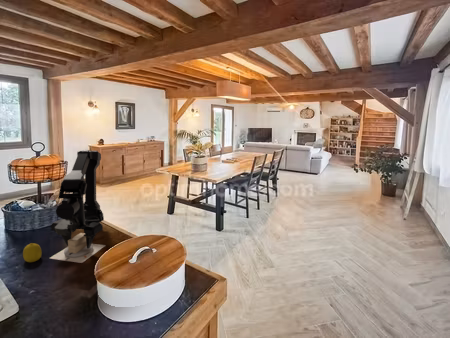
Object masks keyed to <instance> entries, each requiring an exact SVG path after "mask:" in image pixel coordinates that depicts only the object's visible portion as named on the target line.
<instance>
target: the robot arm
mask: <svg viewBox="0 0 450 338" xmlns="http://www.w3.org/2000/svg"><path fill="white" fill-rule="evenodd" d="M76 156H77V157H76V159H75V161H74V164H73V166H72V169H71V171H70V172H69V173H67V174H66V175H65V176H64V177H63V180H62V181H61V183H60V187H59V193H58V199H62V200H61V203H60V204H59V205H58V206H56V209H55V214H56V216H57V217H58V218H60V219H58V220H55V221H54V222H52V223H51V224H50V229H51V231H54V233H56V234H57V235H58V236H61V237H62V239H63V240H64V243H65V244H66V247H68V240H69V239H71V238H72V233H74V232H75V231H77V230H82V231H83V233H85V234H84V236H85V237H86V243H87V248H90V246H91V244H93V241H94V239H95V237H96V235H97V234H98V233H99V232H101V231H103V230H104V229H103V224H102V221H103V222H104V213H103V211H102V209H101V205H100V203H99V202H98V201H97V170H98V167H99V166H100V164H101V160H102V154H101V152H99V150H89V149H85V150H84V149H81V150H78V151H77V154H76ZM84 198H85V199H84Z"/></svg>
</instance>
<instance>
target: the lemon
mask: <svg viewBox="0 0 450 338" xmlns="http://www.w3.org/2000/svg"><path fill="white" fill-rule="evenodd" d="M42 251H43V250H42V248H41V246H40V245H39V244H38V243H33V242H31V243H29V244H27V245H25V247H24V248H23V251H22V257H23V260H24V261H25V262H27V263H34V262H36V261H39V260H40V258H42V254H43V253H42Z"/></svg>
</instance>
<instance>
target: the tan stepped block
mask: <svg viewBox="0 0 450 338" xmlns="http://www.w3.org/2000/svg"><path fill="white" fill-rule="evenodd" d="M84 234H85V233H84V232H80V233H78V234H76V235H75V236H73V237H71V239H69V240H68V246H66V247H65V248H66V249H65V248H64V249H65V250H64V249H63V250H64V255H65V256H67V257H79V256H83V255H86V254H88V253H90V252H91V251H92V250H93V245H92V244H93V243H92V244H91V246H90V248H87V243H86V237H85V236H84Z"/></svg>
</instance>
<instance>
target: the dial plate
mask: <svg viewBox="0 0 450 338" xmlns="http://www.w3.org/2000/svg"><path fill="white" fill-rule="evenodd" d="M92 245H93V250H92V251H91V252H90V253H88V254H86V255H83V256H79V257H67V256H65V255H64V250H65V249H66V248H67V247H65V248H64V249H62V250H61V251H59V252H57V253H55V254H54V255H52V256H51V257H49V259H52V260H59V261H65V262H72V263H73V262H74V263H79V264H80V263H81V264H82V263H84V262H85V261H86V260H88V259H89V258H91V257H92V256H94V255H95V254H96V253H98V252H99V251H100V250H102V249H103V248H104V247H106V244H99V243H98V244H97V243H92Z"/></svg>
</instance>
